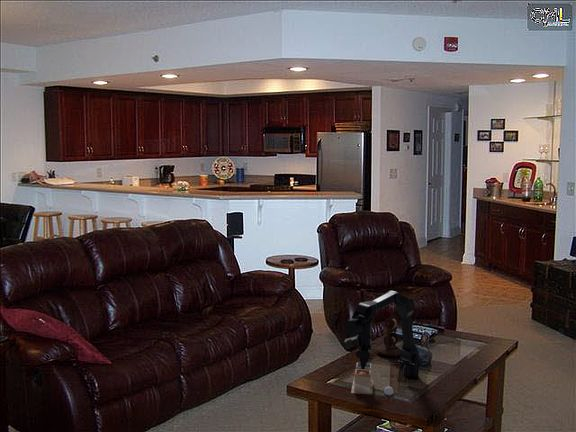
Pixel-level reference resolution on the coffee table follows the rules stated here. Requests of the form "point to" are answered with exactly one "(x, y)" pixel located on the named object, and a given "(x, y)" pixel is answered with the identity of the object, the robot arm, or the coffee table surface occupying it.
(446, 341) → the coffee table surface
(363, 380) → the box
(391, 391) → the grey ball
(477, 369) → the coffee table surface
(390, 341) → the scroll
